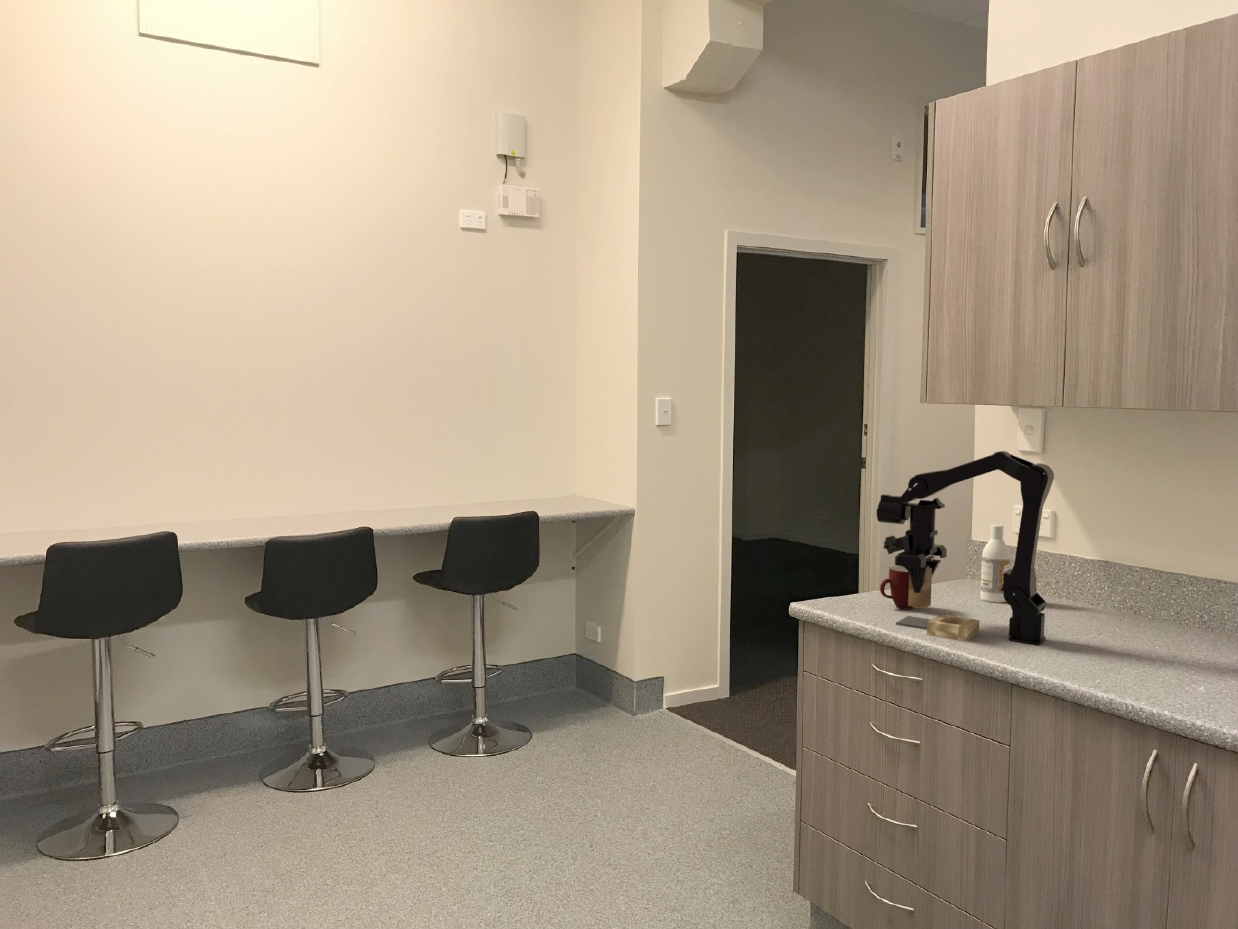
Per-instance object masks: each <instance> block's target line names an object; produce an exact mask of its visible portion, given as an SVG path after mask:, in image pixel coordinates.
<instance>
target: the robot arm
mask: <svg viewBox="0 0 1238 929" xmlns="http://www.w3.org/2000/svg"><path fill="white" fill-rule="evenodd" d="M993 471H1001V472H1002V473H1004V474H1006V476H1009V477H1010V478H1012V479H1014V480H1016V481H1019V482H1020V494H1021V500H1022V510H1021V516H1020V524H1019V529H1018V537H1017V542H1016V543H1017V544H1016V551H1015V556H1014V557H1015V558H1014V563H1013V566H1012V568H1010V569H1009V570H1008V571H1006V572H1005V573H1004V574H1003V587H1002V588H1001V591H1003V590H1004V592H1003V596H1004V599H1005V600H1006V602H1005V603H1007V604H1008V605H1010V608H1011V611H1012V615H1011V617H1010V618H1009V624H1008V636H1009V637H1008V640H1009V641H1012V642H1013V641H1014V642H1020V643H1024V644H1025V643H1027V644H1032V645H1040V644H1042V643H1043V642H1044V641H1046V639H1047V637H1046V636H1045V622H1046V621H1045V618H1046V614H1045V613H1043V611H1045V608H1046V606H1047V603H1048V602H1047V601H1046V600H1045V599H1044V598H1043V597H1042V595H1040V594H1039V593H1038V592H1037V591H1038V590H1037V586H1038V585H1037V576H1036V571H1035V562H1036V556H1037V549H1038V541H1039V535H1040V529H1041V523H1042V514H1043V509H1044V505H1045V502H1046V500H1047V498H1048V496H1049V494H1050V492H1051V488H1052V486H1053V482H1054V481H1055V480H1054V479H1055V473H1054V471H1053V469H1052V468H1051V467H1050V466H1049V465H1048V464H1045V463H1033V462H1032V461H1029V460H1026V459H1024V458H1021V457H1018V456H1015V455H1013V454H1011V453H1009V452H1008V451H1005V450H1000V451H996V452H994V453H992V454H990V455H987V456H983V457H981V458H977V459H975V460H973V461H969V462H967V463H963V464H960V465H958V466H954V467H951V468H948V469H941V470H934V471H927V472H922V473H919V474H915V475H912V477H910V479H909V481H908V483H907V484H908V485H907V489H905V491H904V492H903V493H902V495H890V494H885V493H884V494H881V495H880V500H879V503H878V505H877V508H876V519H877V521H878V523H883V524H884V523H885V524H892V525H893V524H895V525H896V524H897V525H904V524H905V523H906V521H907V522H908V521H909V529H907V530H906V531H905V534H904V536H899V537H896V536H895V535H891V536H887V537H885V541H883V549H885V550H886V552H887V554H888V555H891V554H893V553H896V552H899V553H897V555H895V556H894V566H902V567H905V568H906V569H907V570H908V572H909V574H910V578H911V581H912V585H913V589H914V592H915V593H919V592H920V590H921V588H922V585H923V582H924V580H925V577H926V574H927V572H928V569H929V568H932V577H933V576H934V574H935V572H936V570H937V568H938V567H939V565H940V563H942V561H941V560H940V559H945V558H947V548H946V547H945V546H944V544H935V536H938V532H939V531H938V529H937V530H936V510H942V509H944V508H946V505H945V504H944V503H943V502H942V501H941V500H940V499H939V497H935V498H933V500H925V499H927V498H929V497H932V496H935V495H936V494H938V493H939V492H942V491H943V490H946V489H947V488H949V487H951V486H952V485H955V484H957V483H960V482H963V481H966V480H969V479H973V478H975V477H978V476H982V475H985V474H988V473H990V472H993ZM919 499H920V500H919ZM915 500H919V501H918V503H917V502H914V503H913V501H915ZM900 551H902V552H900ZM936 556H937V557H939V558H940V559H936Z"/></svg>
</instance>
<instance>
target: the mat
mask: <svg viewBox="0 0 1238 929" xmlns="http://www.w3.org/2000/svg"><path fill="white" fill-rule="evenodd" d="M930 620H931V619H930V618H924V617H918V616H913V615H912V616H911V615H907V616H905V617H903V618H902V619H900V620H898V621H896V622H895V625H896V626H897V625H898V626H905V627H910V628H916V629H922V630H927V622H928V621H930Z"/></svg>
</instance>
